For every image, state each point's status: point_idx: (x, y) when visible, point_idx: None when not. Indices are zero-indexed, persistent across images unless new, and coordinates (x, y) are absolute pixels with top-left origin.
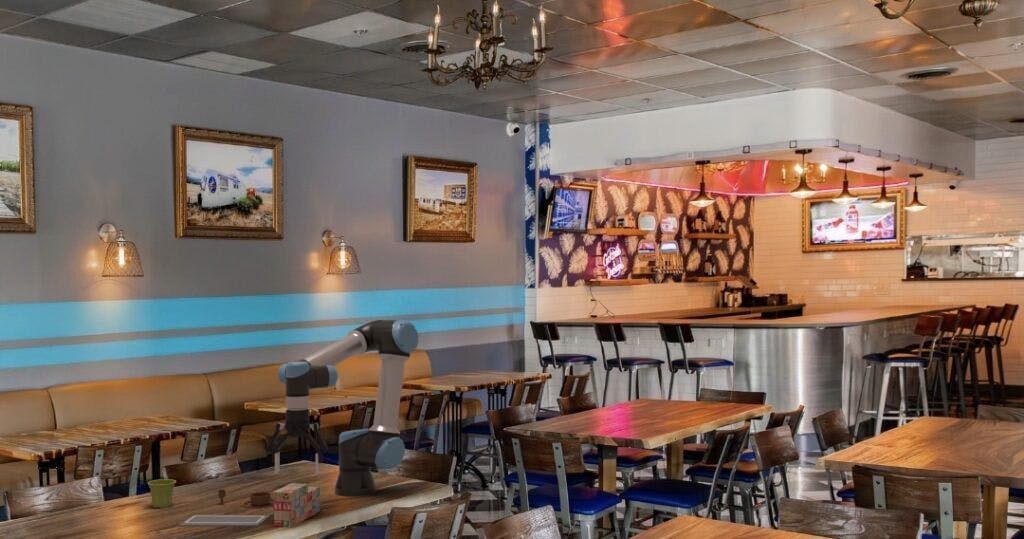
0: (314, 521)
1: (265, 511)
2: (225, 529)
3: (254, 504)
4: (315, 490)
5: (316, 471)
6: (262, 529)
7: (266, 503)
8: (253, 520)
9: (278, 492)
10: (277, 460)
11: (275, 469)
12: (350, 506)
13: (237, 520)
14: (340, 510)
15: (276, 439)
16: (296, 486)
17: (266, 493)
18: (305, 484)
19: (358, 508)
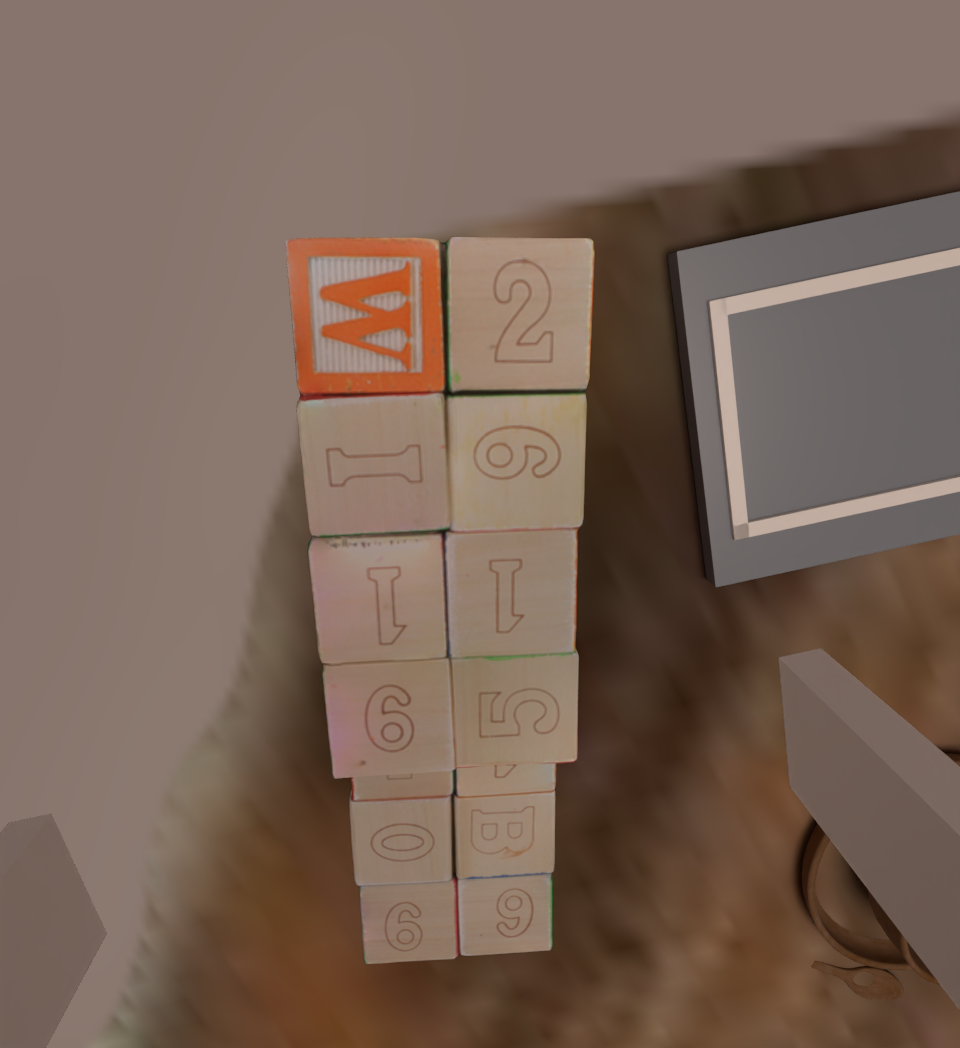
0: (301, 572)
1: None
2: (931, 157)
3: None
4: (354, 862)
5: (9, 851)
6: (608, 231)
7: None
8: (779, 396)
9: (507, 241)
10: (952, 849)
11: (854, 688)
12: (267, 995)
13: (917, 365)
14: (278, 892)
15: None
16: (407, 614)
17: None
18: (345, 745)
19: (178, 967)
